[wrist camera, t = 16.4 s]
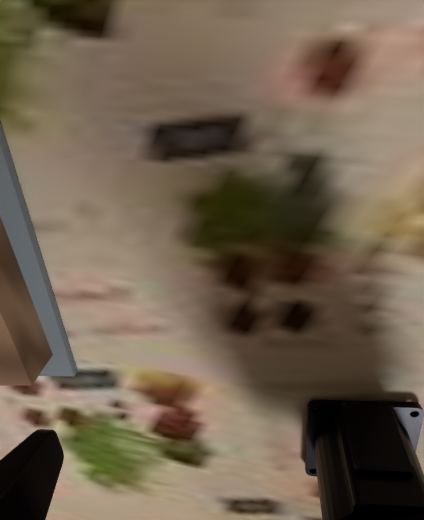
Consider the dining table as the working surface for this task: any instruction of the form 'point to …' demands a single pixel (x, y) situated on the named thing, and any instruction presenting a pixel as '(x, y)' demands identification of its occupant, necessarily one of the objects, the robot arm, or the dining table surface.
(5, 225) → the grey flat bar
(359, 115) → the dining table surface
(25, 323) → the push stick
